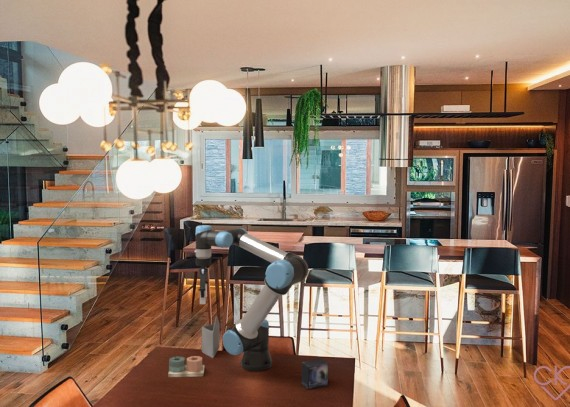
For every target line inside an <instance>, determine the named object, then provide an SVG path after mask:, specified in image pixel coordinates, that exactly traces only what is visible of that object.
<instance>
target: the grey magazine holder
mask: <svg viewBox="0 0 570 407" xmlns="http://www.w3.org/2000/svg"><path fill="white" fill-rule="evenodd" d="M220 330H221V326H220V321H219V318H218V316H217V315H216V316H215V319H214V323H211V324H207V325H204V326H201V352H202V353H203V354H205V355H206V356H207V357H210V358H211V359H214V358H215V356H216V354H217V352H218V351H219V349H220V337H221V336H220Z"/></svg>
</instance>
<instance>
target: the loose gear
mask: <svg viewBox="0 0 570 407" xmlns="http://www.w3.org/2000/svg"><path fill="white" fill-rule="evenodd" d="M186 365H187V371H189V372H198V371H201V370H202V365H203V357H202V356H199V355H192V356H189V357H187V358H186Z"/></svg>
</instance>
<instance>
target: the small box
mask: <svg viewBox="0 0 570 407" xmlns="http://www.w3.org/2000/svg"><path fill="white" fill-rule="evenodd" d="M328 374H329V362H327V361H326V360H324V359H322V358H318V359H312V360H307V361H305V360H304V361H302V362H301V382H300V384H301V386H303V387H304V389H306V390H313V389H316V388H323V387H327V386H328V385H329V383H328V381H329V375H328Z"/></svg>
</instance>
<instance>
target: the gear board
mask: <svg viewBox="0 0 570 407" xmlns="http://www.w3.org/2000/svg"><path fill="white" fill-rule="evenodd" d="M205 366H206V365H204V364H202V370H201V371H198V372H189V371H187V364H186V357H184V356H173V357H170V358H169V360H168V373H167V377H168V378H189V377H190V378H191V377H192V378H193V377H204V375H205V374H204V373H205V368H206V367H205Z"/></svg>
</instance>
